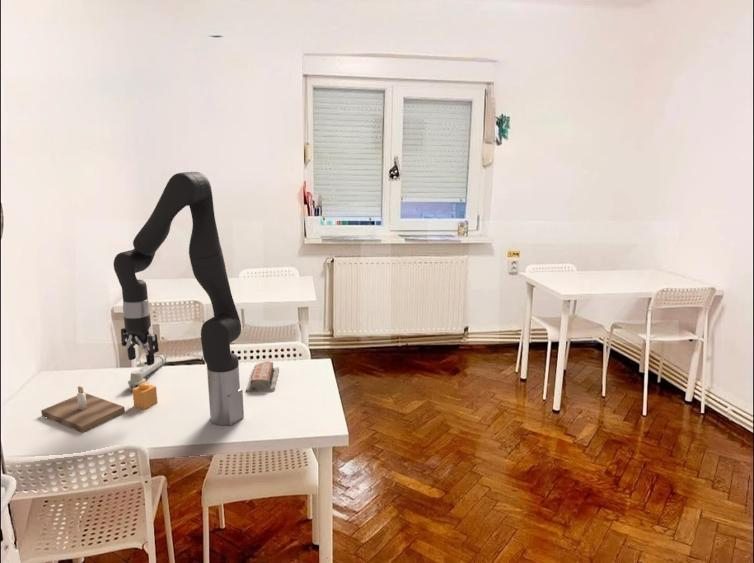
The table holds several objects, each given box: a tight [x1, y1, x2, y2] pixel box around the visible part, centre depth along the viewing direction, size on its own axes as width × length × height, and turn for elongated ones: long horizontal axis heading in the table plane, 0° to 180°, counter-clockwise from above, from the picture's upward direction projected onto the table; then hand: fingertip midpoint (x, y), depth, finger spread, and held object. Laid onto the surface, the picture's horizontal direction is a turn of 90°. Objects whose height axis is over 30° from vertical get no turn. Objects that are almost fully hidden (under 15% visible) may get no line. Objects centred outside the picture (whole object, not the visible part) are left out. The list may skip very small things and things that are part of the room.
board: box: [41, 392, 126, 433], centre depth 164 cm, size 20×14×2 cm
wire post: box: [76, 385, 87, 410], centre depth 163 cm, size 2×2×7 cm
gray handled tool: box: [127, 354, 167, 392], centre depth 191 cm, size 5×7×25 cm
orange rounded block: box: [132, 381, 158, 410], centre depth 171 cm, size 5×5×7 cm
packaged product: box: [245, 360, 280, 393], centre depth 190 cm, size 18×5×10 cm
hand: (141, 361), depth 168 cm, fingers open, 8 cm apart
